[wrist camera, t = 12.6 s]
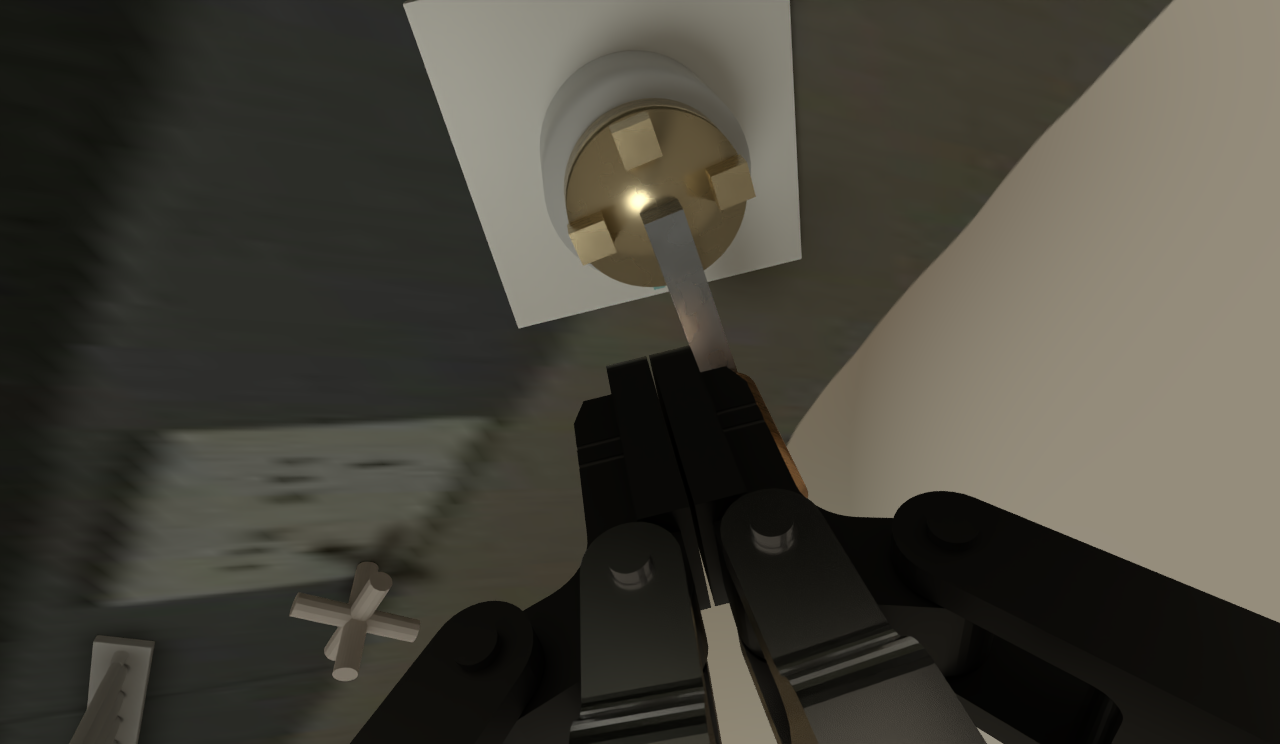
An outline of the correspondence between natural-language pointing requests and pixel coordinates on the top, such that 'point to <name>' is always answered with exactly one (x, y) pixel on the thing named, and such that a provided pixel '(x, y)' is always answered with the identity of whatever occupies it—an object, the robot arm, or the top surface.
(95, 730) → the test tube rack
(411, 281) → the top surface
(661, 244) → the lever-handled chuck
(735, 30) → the cylinder on square plate
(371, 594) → the pipe connector
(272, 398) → the top surface
